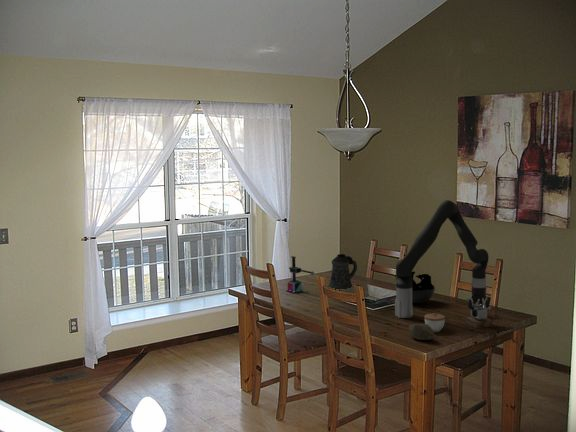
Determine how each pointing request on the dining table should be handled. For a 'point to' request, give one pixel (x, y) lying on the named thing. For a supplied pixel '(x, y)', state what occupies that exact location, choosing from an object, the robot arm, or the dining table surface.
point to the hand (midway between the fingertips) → (478, 315)
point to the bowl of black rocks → (422, 289)
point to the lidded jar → (435, 321)
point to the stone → (421, 331)
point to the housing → (480, 312)
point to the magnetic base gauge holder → (295, 284)
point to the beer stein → (342, 272)
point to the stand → (478, 322)
